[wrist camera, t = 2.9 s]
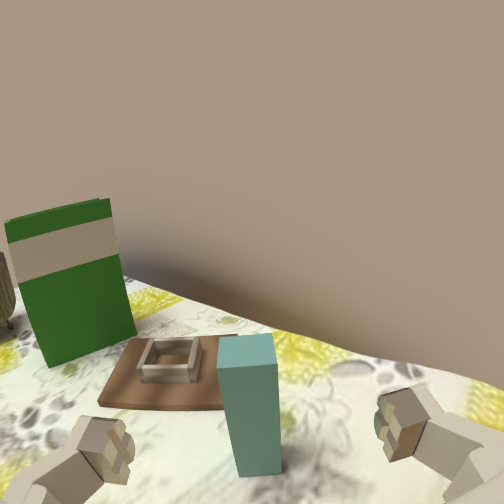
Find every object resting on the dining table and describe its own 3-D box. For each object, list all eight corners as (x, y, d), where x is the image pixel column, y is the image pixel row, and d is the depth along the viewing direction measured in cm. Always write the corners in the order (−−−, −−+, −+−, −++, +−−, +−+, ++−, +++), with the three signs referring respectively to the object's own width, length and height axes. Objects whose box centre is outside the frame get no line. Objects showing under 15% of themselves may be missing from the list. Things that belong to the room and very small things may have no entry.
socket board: (99, 406, 33) (90, 386, 32) (132, 343, 48) (127, 325, 47) (238, 408, 33) (234, 387, 32) (238, 339, 48) (235, 320, 47)
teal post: (239, 477, 23) (216, 368, 19) (238, 447, 27) (219, 337, 23) (281, 473, 23) (277, 363, 19) (277, 444, 27) (271, 332, 23)
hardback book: (123, 320, 56) (98, 198, 49) (137, 335, 51) (109, 198, 44) (43, 349, 45) (6, 220, 38) (48, 368, 39) (4, 223, 33)
